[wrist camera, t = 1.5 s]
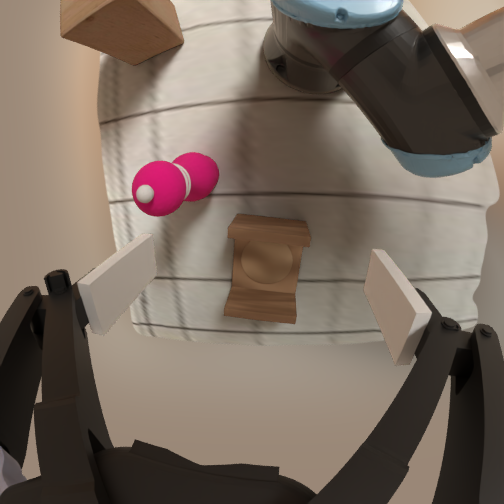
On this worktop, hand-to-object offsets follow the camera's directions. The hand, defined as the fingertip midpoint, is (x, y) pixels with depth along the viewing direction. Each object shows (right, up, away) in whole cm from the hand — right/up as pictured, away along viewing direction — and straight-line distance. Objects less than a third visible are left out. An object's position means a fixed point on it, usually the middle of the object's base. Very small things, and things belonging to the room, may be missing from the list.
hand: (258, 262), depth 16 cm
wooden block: (-17, +38, +18) cm, 46 cm away
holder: (+2, 0, +30) cm, 30 cm away
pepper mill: (-9, +13, +27) cm, 31 cm away
